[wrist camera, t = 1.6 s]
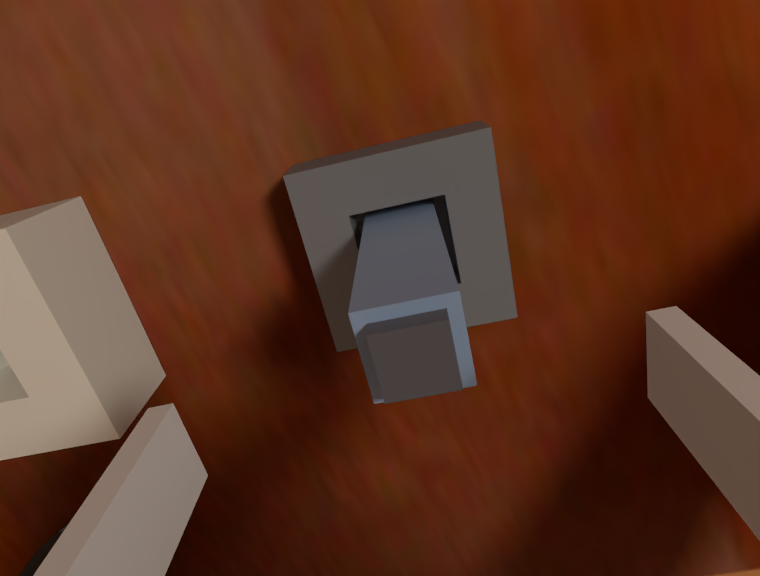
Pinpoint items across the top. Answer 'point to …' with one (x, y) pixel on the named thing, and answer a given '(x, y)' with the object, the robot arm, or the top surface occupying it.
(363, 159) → the grey square socket block
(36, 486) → the top surface
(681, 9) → the top surface
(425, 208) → the plug
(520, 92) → the top surface
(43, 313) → the port
